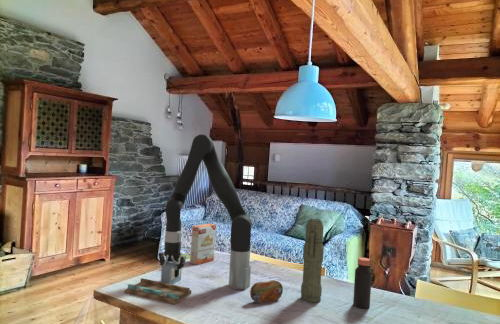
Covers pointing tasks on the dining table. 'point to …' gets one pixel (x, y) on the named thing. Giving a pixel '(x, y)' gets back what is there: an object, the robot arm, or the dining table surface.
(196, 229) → the cracker box
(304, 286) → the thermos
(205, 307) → the dining table surface
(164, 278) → the carton
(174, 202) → the robot arm
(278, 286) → the tin
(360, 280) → the bottle
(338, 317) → the dining table surface
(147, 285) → the brown flat frame
